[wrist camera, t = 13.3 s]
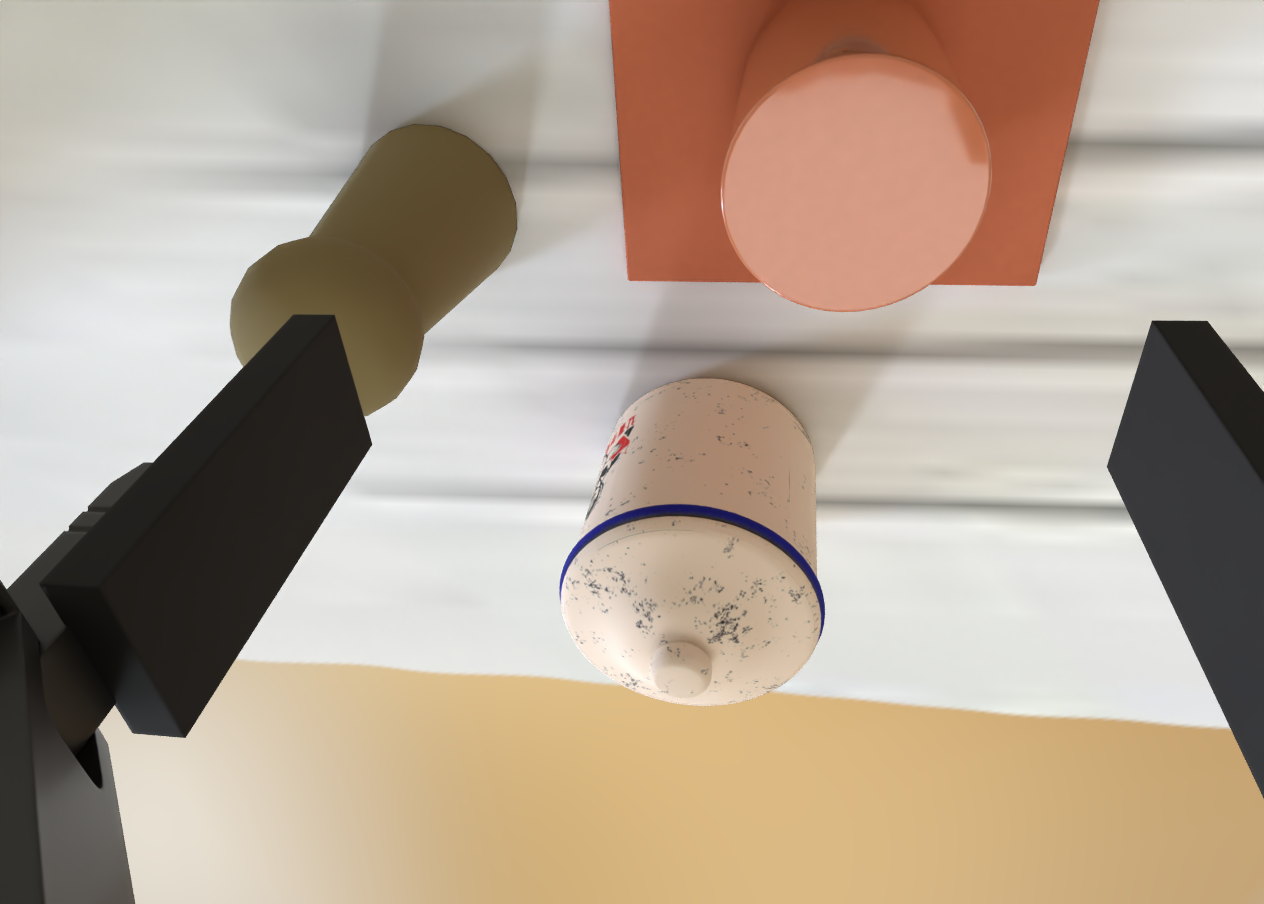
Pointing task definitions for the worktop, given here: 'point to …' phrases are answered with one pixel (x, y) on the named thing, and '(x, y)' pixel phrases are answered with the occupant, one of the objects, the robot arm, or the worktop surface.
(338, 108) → the worktop surface
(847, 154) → the copper-orange cylinder
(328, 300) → the olive rounded bottle shape
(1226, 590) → the robot arm
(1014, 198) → the terracotta mat
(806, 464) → the teacup with lid
